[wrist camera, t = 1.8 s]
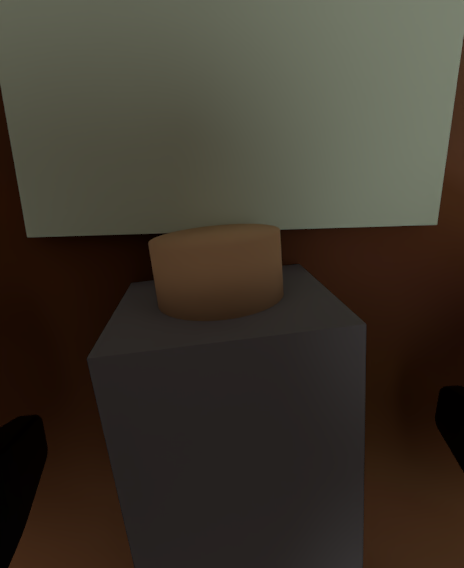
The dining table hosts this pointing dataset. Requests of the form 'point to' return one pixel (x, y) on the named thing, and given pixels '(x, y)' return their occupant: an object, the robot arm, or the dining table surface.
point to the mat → (228, 112)
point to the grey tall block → (234, 408)
